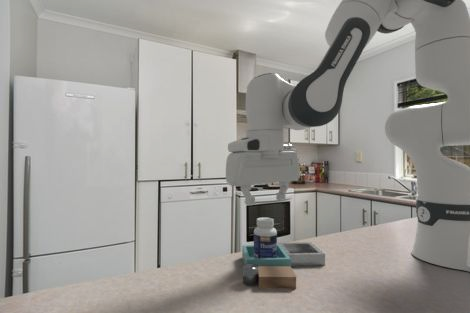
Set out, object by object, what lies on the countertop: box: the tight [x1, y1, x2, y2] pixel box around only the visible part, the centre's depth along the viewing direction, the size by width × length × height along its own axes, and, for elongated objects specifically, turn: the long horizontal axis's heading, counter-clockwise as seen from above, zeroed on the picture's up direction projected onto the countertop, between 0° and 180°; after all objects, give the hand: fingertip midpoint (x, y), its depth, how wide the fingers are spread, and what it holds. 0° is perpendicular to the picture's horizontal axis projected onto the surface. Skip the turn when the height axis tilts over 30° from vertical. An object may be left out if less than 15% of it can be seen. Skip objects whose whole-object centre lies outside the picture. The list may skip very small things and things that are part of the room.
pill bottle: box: [253, 217, 278, 258], centre depth 60 cm, size 5×5×10 cm
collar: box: [277, 241, 326, 267], centre depth 64 cm, size 9×9×2 cm
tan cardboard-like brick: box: [257, 266, 297, 290], centre depth 51 cm, size 7×5×2 cm
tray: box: [241, 244, 292, 267], centre depth 59 cm, size 10×10×3 cm
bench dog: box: [242, 264, 258, 287], centre depth 51 cm, size 3×3×3 cm
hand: (266, 202), depth 60 cm, fingers open, 8 cm apart
